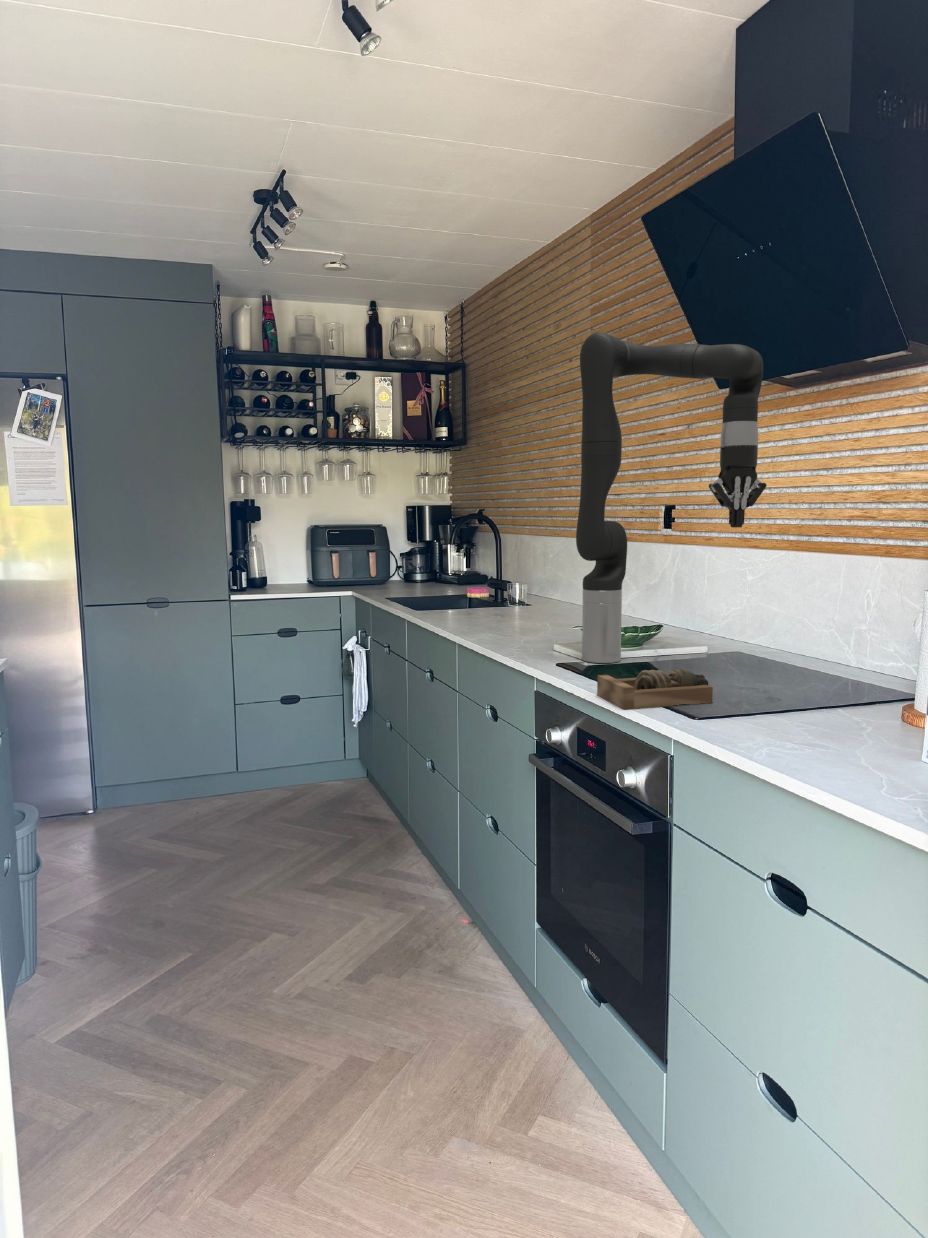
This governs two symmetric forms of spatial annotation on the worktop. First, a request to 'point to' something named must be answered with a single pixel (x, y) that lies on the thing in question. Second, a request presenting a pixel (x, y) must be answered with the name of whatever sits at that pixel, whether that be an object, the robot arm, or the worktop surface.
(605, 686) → the tray
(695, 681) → the light bulb
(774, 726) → the worktop surface
